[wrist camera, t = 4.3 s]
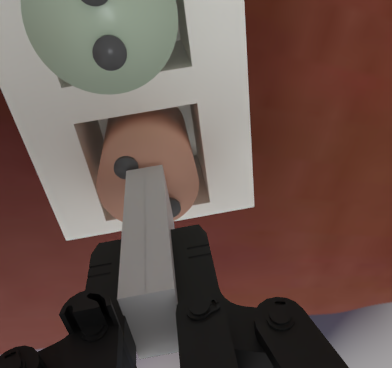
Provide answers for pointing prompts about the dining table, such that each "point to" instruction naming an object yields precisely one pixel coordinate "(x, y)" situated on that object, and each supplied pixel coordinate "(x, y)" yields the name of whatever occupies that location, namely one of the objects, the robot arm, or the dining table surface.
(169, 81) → the panel
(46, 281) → the dining table surface
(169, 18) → the button two
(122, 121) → the button three
